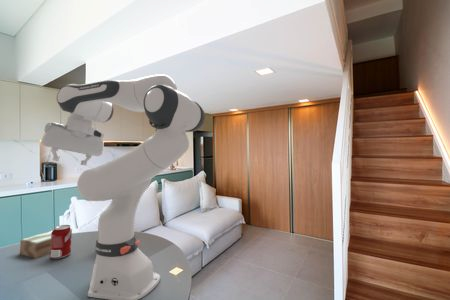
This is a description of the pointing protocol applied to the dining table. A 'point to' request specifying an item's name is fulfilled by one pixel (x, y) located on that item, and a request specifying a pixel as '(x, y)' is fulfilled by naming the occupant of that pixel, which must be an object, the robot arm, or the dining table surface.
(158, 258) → the dining table surface
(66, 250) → the soda can
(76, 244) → the dining table surface
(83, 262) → the dining table surface
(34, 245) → the walnut pedestal
